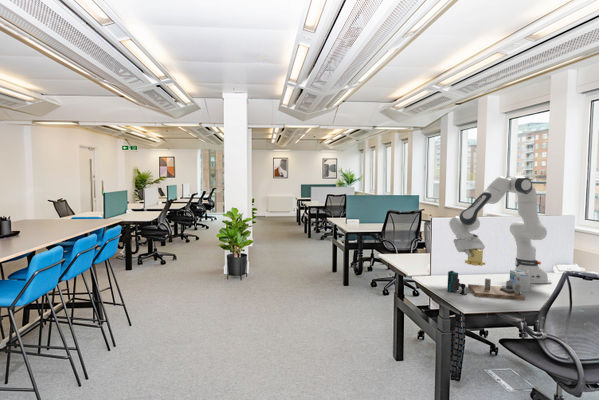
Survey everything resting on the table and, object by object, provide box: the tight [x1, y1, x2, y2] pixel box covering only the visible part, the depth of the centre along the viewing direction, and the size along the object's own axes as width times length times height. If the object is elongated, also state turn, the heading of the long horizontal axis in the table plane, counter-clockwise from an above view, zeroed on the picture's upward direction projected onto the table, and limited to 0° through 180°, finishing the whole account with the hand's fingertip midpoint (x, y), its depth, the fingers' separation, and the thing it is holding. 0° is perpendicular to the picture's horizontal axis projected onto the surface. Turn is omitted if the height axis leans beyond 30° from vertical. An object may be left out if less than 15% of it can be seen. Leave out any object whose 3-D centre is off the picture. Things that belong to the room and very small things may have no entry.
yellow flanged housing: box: [464, 249, 486, 267], centre depth 241 cm, size 11×11×9 cm
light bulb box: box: [509, 269, 531, 292], centre depth 235 cm, size 11×7×11 cm, turn 3°
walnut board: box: [467, 278, 526, 301], centre depth 224 cm, size 26×18×8 cm
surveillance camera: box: [446, 270, 468, 296], centre depth 223 cm, size 6×12×10 cm
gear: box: [499, 279, 515, 293], centre depth 223 cm, size 10×9×6 cm
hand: (475, 256), depth 241 cm, fingers closed on yellow flanged housing, 6 cm apart
